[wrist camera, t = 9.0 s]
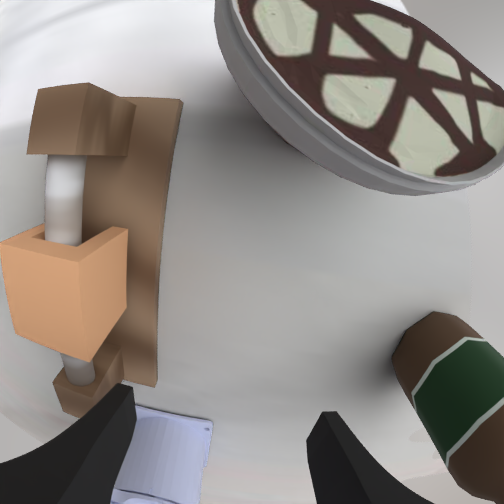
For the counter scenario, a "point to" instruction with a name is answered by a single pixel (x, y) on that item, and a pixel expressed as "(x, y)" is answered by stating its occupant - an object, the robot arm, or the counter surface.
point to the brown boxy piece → (108, 215)
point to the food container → (365, 92)
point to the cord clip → (66, 289)
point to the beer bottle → (457, 399)
